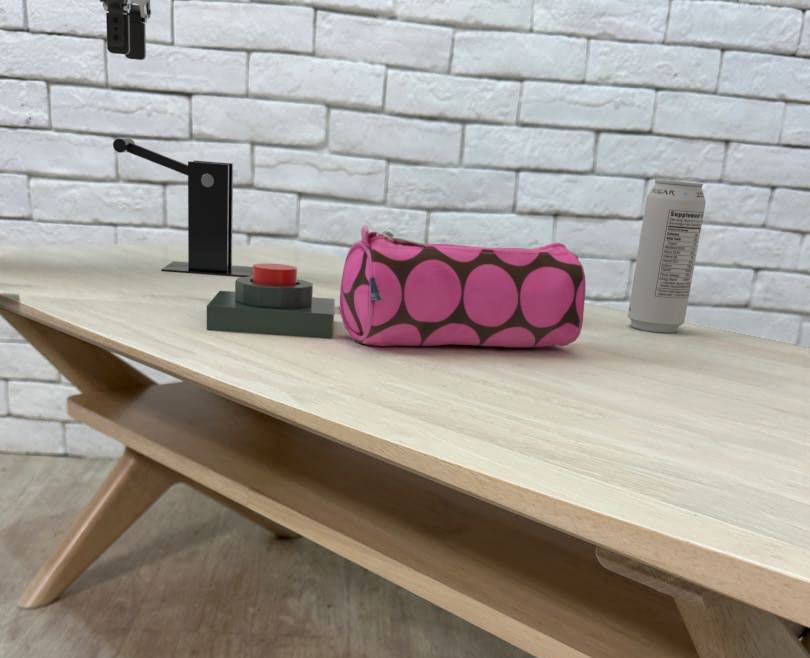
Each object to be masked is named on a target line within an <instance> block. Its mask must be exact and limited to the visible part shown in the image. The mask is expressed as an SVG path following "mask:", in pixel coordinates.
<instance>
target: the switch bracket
mask: <svg viewBox="0 0 810 658" xmlns="http://www.w3.org/2000/svg"><path fill="white" fill-rule="evenodd" d="M187 165H188V176H187V225H188V226H187V246H188V247H187V249H188V253H187V254H188V255H187V257H188V258H187V259H188V261H177V260H176V261H175V260H173V261H172V262H169V263H168V264H167V265H166V266H164V267H163V268H161V272H163V273H164V272H165V273H166V272H167V273H179V274H193V275H195V274H196V275H207V276H221V277H234V278H235V277H236V278H241V277H249V276H252V275H253V266H245V265H233V218H234V217H233V214H234V213H233V210H234V205H233V203H234V163H231V162H220V161H219V162H218V161H206V160H193V161H192V160H191V161H189V160H188V161H187Z"/></svg>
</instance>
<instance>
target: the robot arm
mask: <svg viewBox="0 0 810 658" xmlns="http://www.w3.org/2000/svg"><path fill="white" fill-rule="evenodd" d="M99 2H100V3H102V7H103V11H104V12H105V13H106V14H105V17H106V20H105V21H106V49H107V51H108V53H111V54H113V55H123V56H125V58H127V59H129V60H136V61H143V60H145V59H146V57H147V48H146V47H147V45H146V44H147V43H146V42H147V39H146V37H147V35H146V24H147V23H148V20H149V19H150V18H151V15H152V10H151V0H99Z"/></svg>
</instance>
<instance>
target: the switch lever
mask: <svg viewBox="0 0 810 658" xmlns="http://www.w3.org/2000/svg"><path fill="white" fill-rule="evenodd" d="M112 148H113V149H114V151H115V152H117V153H120V154H121V153H122V154H123V153H129V154H132V155H134V156H137V157H140V158H141V159H145V160H147V161H150V162H152V163H155V164H157V165H159V166H162V167H165V168H167V169H170V170H172V171H175V172H177V173H180V174H182V175H185V176H187V177H188V163H184V162H181V161H178V160H176V159H174V158H172V157H169V156H166V155H163V154H161V153H158V152H156V151H154V150H151V149H149V148H145V147H143V146H141V145H139V144H136V143H135V141H134V140H133V139H132V138H129V137H128V138H127V137H126V138H123V137H122V138H119V137H118V138H115V139H114V140H113V143H112Z"/></svg>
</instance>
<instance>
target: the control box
mask: <svg viewBox="0 0 810 658" xmlns="http://www.w3.org/2000/svg"><path fill="white" fill-rule="evenodd" d="M313 293H314V283H313V282H311V281H308V280H305V279H299V278H297V285H294V286H273V285H263V284H257V283H252V276H249V277H236V279H235V281H234V291H229V290H219V291H218V292H217V293H216V294H215V295H214V296H213V298H212V299H211V300H210V301H209V303H207V304H206V331H212V332H224V333H225V332H227V333H240V334H241V333H242V334H255V335H257V334H258V335H269V336H270V335H271V336H272V335H273V336H287V337H299V338H314V339H327V340H328V339H330V340H332V339H333V334H334V326H335V325H334V324H335V309H336V306H335V305H336V298H331V297H330V298H327V297H313Z"/></svg>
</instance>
